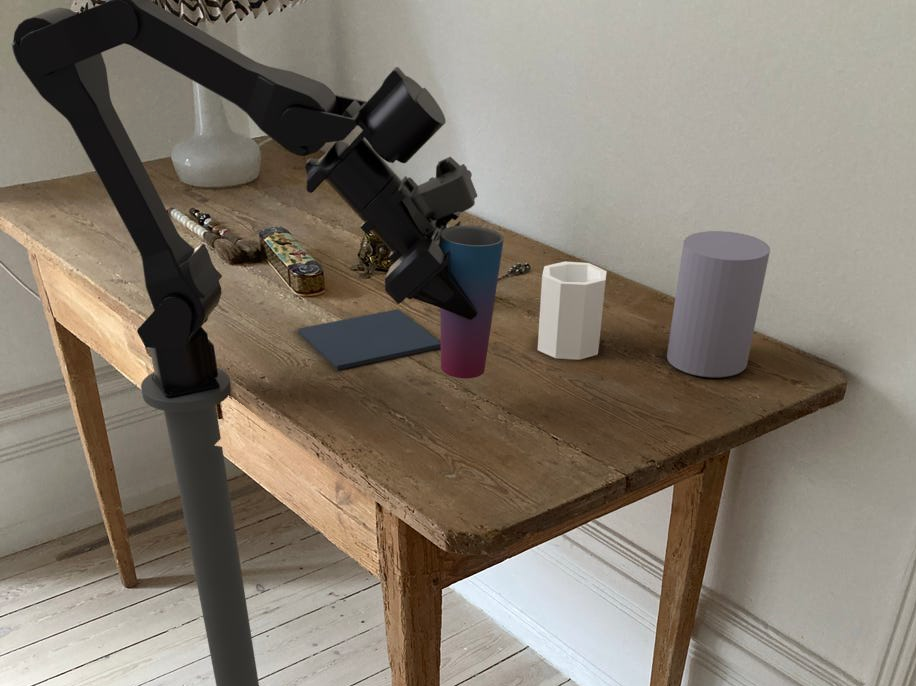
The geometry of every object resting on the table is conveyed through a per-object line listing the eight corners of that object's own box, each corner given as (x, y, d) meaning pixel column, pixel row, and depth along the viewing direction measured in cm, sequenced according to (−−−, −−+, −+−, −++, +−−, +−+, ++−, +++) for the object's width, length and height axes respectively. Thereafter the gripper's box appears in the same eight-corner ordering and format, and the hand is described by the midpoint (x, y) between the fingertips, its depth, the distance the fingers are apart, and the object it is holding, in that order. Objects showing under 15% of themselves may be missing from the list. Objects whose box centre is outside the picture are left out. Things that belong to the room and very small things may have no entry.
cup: (429, 378, 115) (436, 242, 106) (436, 354, 121) (443, 222, 111) (489, 384, 115) (501, 248, 106) (494, 360, 121) (505, 228, 111)
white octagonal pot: (609, 356, 134) (617, 282, 128) (546, 362, 132) (551, 287, 126) (579, 321, 143) (585, 249, 137) (520, 326, 141) (523, 253, 135)
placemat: (337, 370, 129) (337, 365, 129) (298, 332, 138) (297, 328, 138) (442, 347, 135) (442, 343, 135) (398, 313, 144) (398, 308, 144)
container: (671, 341, 138) (688, 227, 129) (748, 351, 137) (771, 236, 127) (661, 373, 131) (679, 254, 121) (744, 384, 129) (768, 264, 119)
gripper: (416, 164, 96) (526, 290, 102) (442, 116, 110) (538, 229, 116) (337, 243, 101) (446, 358, 108) (372, 188, 115) (467, 292, 122)
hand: (477, 305), depth 113 cm, fingers closed on cup, 6 cm apart
